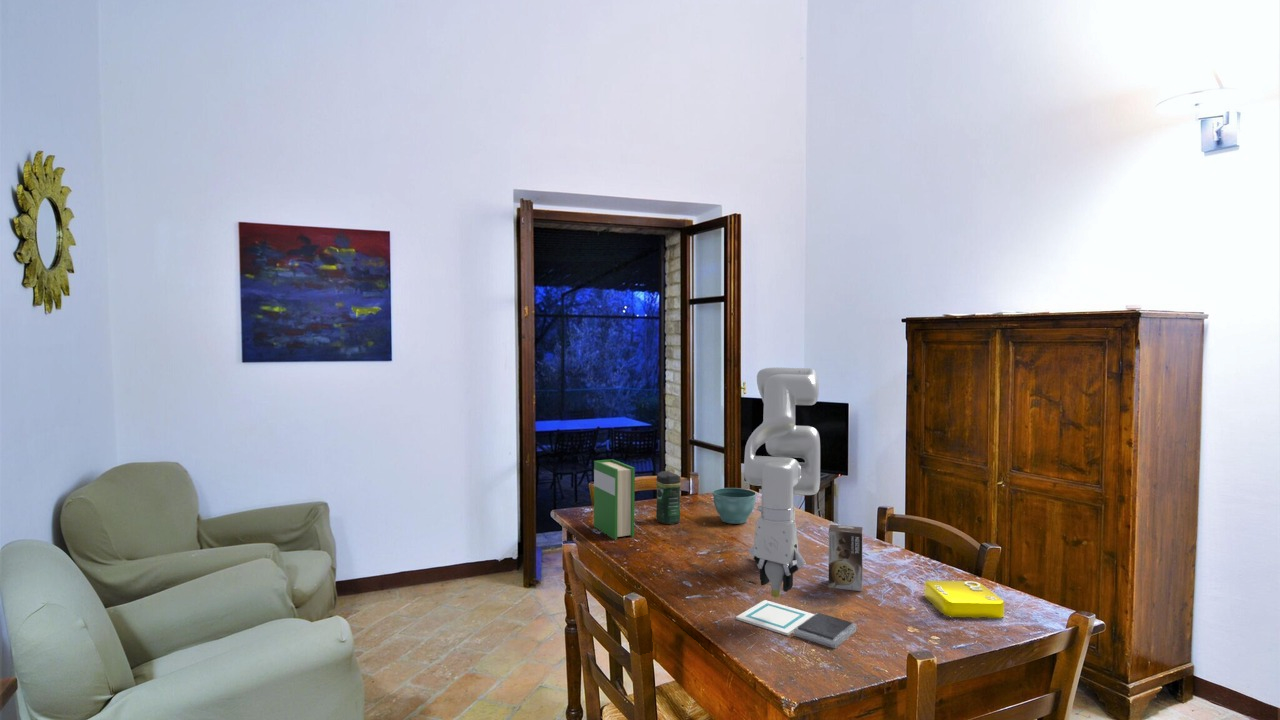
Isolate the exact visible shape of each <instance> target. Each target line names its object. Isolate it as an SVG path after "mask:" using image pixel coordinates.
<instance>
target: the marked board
mask: <svg viewBox="0 0 1280 720" xmlns="http://www.w3.org/2000/svg"><path fill="white" fill-rule="evenodd" d="M815 614H816V613H815ZM815 614H814V613H812V612H807V611H805V610H802V609H798V608H794V607H790V606H788V605H784V604H780V603H777V602H773V601H769V600H766V599H764V600H762V601H760V602H758V603H757V604H755V605H754V606H752V607H750V608H749V609H747V610H745V611H744V612H742V613H740V614H738V615H736V616H735V620H737V621H741V622H744V623H746V624H750V625H753V626H757V627H758V628H759V627H760V628H763V629H765V630H769V631H772V632H775V633H779V634H782V635H785V636H789V635H791V634H792V633H793V634H794V628H796V627H797V626H799V625H800V624H802V623H803V622H804V621H806V620H807V619H809V618H810V617H812V616H813V615H815Z"/></svg>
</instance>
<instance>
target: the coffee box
mask: <svg viewBox="0 0 1280 720" xmlns="http://www.w3.org/2000/svg"><path fill="white" fill-rule="evenodd" d="M863 535H864V533H863V526H862V527H861V526H853V525H851V526H850V525H841V524H840V525H839V524H838V525H837V524H830V525H829V529H828V584H827V585H828V586H827V587H828V589H829V588H830V589H836V590H837V589H839V590H848V591H856V592H862V591H863V587H864V585H863V583H864V581H863V580H864V578H863V573H864V572H863V570H864V569H863V566H864V565H863V564H864V563H863V558H864V557H863V555H864V552H863V549H864V547H863V543H864V538H863V537H864V536H863Z"/></svg>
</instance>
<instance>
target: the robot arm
mask: <svg viewBox="0 0 1280 720" xmlns="http://www.w3.org/2000/svg"><path fill="white" fill-rule="evenodd" d="M818 378H819V377H818V374H817V372H816V370H815V369H813V368H811V367H810V368H808V367H807V368H806V367H766V368H762V369H760V370H759V371H758V372H757V375H756V385H757V389H758V391H759V395H760V397H761V400H762V403H763V415H762V416H763V419H762V420H763V421H762V423H761V424H759V426H757V427H756V428H755V429H754V430H753V432H751V435H750V436H748V439H747V441H746V444H745V448H744V460H743V461H744V462H743V476H744V479H745V481H746V483H748V484H749V485H752V486H756V487H757V486H758V487H759V486H760V487H761V505H757V507H756V510H757V512H760V516H758V518H757V521H756V527H755V530H754V531H755V533H754V539H753V540H754V542H753V545H752V546H751V547H750V548H749V549H748V553H749V555H751V557H752V558H753V560H754V562H755V563H756V566H757V568H758V569H759V580H760V586H765V585H767V584H769V583H770V580H769V579H768V577H767V575H766V573H765V565H766V562H767V561H771V562H775V563H780V564H783V566H784V570H785V575H784V576H783V582H782V591H783V592H785V593H787V592H789V591H790V590H792V588H793V585H794V574H795V573H796V572H797V571H798V570H800V569H801V568H803V566H805V565H806V564H807V562H806V560H805V559H804V557H803V556H802V554H801V553H800V551H799V539H798V538H799V537H798V530H797V524H796V521H795V520H796V519H795V518H796V511H795V506H794V495H796V496H797V495H801V496H812V495H816V494H818V492H819V490H820V486H821V438H820V433H819V431H818V430H817V428H815V427H813V426H810V425H796V406H813V405H815V404H816V403H817V402H818V398H819V394H820V393H819V392H820V387H819V379H818ZM764 444H765V449H766V452H767V453H768V455H770V456H765V455H763V456H762V455H756V454H757V453H756V452H757V450H758V449H759V448H760V447H761V446H762V445H764ZM795 458H799V459H802V460H804V462H803V461H802V462H799V461H798V460H797V459H795Z"/></svg>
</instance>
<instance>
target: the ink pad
mask: <svg viewBox="0 0 1280 720" xmlns="http://www.w3.org/2000/svg"><path fill="white" fill-rule="evenodd" d="M857 625H858V624H857V623H854V622H853V621H848V620H845V619H841V618H839V617H834V616H832V615H831V616H830V615H827V614H824V613H821V612H816V613H815V615H813V616H812V617H810V618H809V619H807V620H806V621H804V622H803V623H802V624H800V625H799V626H797V627H796V628H794V632H793V636H794V637H797V638H800V639H804V640H807V641H809V642H813V643H816V644H819V645H822V646H825V647H828V648H832V649H836V648H838V647H839V646H840V645H842V644H843V643H844V642H845V641H846V640H847V639H849V638H850V637H851V636H853V635H854V634H855V633H856V632H857V631H858V629H857V628H858V626H857Z"/></svg>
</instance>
